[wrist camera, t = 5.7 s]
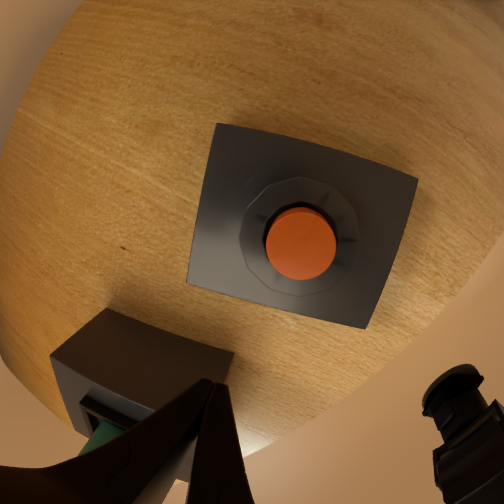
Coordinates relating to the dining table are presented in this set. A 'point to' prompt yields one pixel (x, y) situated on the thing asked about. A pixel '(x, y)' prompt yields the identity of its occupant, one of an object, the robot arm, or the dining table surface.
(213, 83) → the dining table surface
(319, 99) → the dining table surface
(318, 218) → the button
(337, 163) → the control
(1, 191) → the dining table surface
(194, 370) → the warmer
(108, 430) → the bottle
